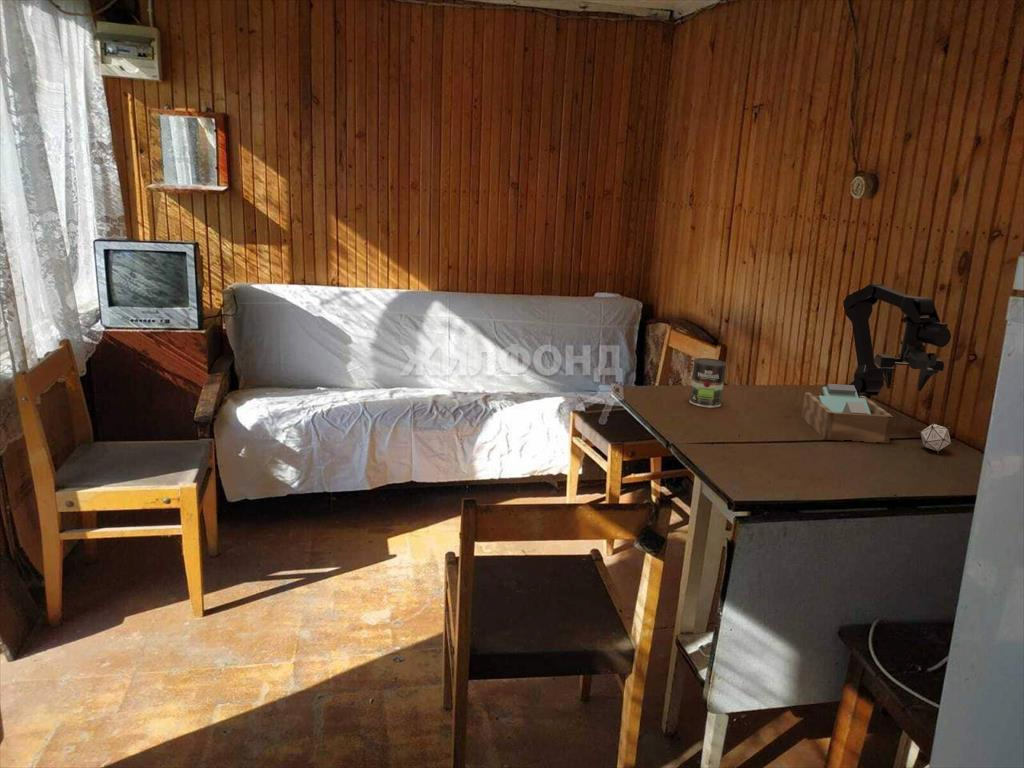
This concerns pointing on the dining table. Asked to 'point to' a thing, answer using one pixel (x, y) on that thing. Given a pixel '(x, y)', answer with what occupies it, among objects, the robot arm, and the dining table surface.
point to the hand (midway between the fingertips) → (903, 389)
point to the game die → (935, 437)
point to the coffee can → (707, 382)
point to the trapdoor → (840, 397)
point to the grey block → (855, 408)
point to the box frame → (847, 422)
